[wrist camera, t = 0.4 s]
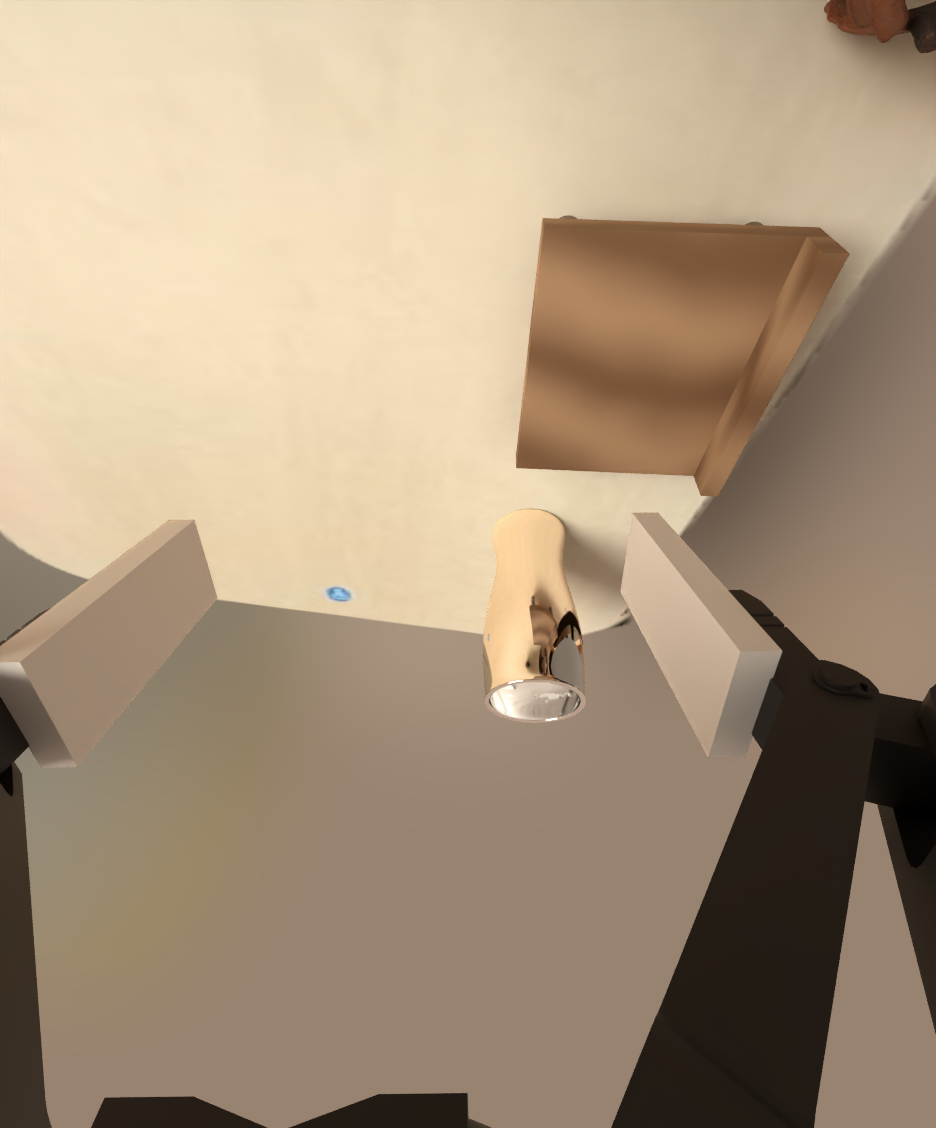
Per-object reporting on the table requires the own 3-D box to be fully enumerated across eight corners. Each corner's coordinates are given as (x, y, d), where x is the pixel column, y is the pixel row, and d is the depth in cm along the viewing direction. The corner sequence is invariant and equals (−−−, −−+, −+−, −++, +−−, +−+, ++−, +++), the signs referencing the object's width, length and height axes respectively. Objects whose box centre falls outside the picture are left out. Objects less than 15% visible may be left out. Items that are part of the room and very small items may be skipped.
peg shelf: (539, 197, 24) (546, 243, 20) (794, 205, 24) (849, 253, 20) (515, 427, 34) (516, 487, 30) (693, 435, 34) (717, 496, 30)
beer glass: (547, 568, 45) (558, 730, 36) (475, 549, 44) (466, 713, 34) (586, 518, 40) (610, 692, 31) (506, 494, 39) (505, 669, 29)
